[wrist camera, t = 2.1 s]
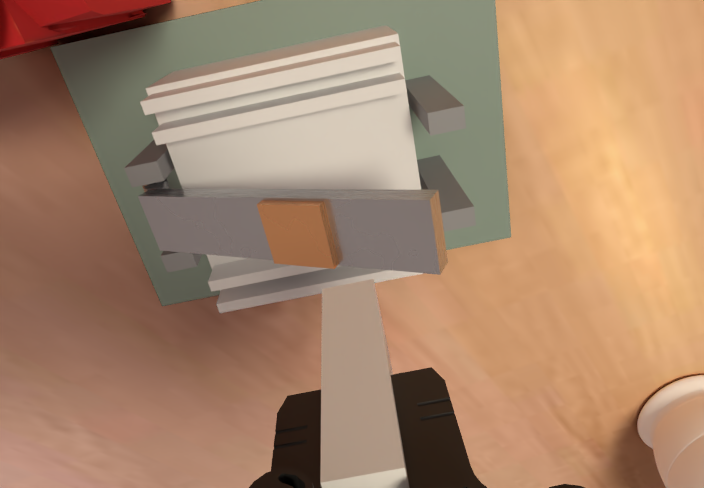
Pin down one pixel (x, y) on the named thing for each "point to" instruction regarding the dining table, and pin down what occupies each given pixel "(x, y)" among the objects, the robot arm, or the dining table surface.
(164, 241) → the strap
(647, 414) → the jar
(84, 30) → the radio
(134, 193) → the heatsink
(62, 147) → the dining table surface
